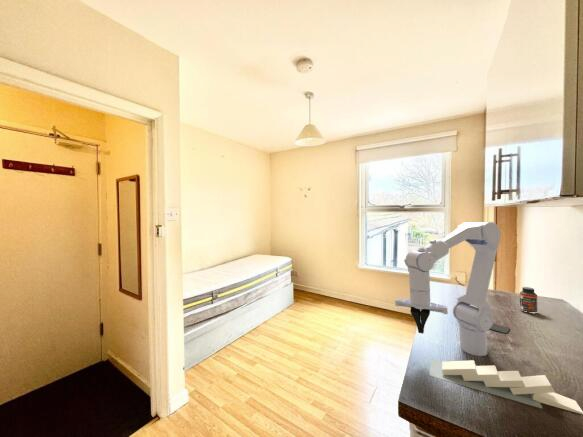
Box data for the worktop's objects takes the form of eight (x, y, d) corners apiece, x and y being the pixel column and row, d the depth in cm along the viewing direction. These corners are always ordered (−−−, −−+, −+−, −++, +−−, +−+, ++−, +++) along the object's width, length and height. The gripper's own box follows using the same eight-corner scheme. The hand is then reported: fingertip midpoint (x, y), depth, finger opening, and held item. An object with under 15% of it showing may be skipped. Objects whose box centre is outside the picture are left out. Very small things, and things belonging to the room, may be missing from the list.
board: (431, 363, 74) (431, 359, 74) (531, 390, 61) (531, 385, 61) (429, 379, 66) (429, 375, 66) (543, 413, 54) (542, 408, 54)
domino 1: (461, 366, 68) (494, 365, 64) (463, 371, 68) (497, 371, 63) (461, 374, 64) (497, 374, 60) (464, 380, 64) (500, 380, 60)
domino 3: (506, 378, 62) (544, 374, 58) (509, 384, 62) (548, 381, 58) (509, 388, 59) (551, 385, 55) (513, 394, 58) (555, 392, 54)
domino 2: (481, 371, 65) (518, 370, 61) (483, 377, 65) (520, 376, 61) (483, 380, 62) (522, 380, 57) (486, 386, 61) (525, 387, 57)
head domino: (442, 361, 70) (473, 360, 66) (444, 366, 70) (476, 365, 66) (442, 369, 67) (475, 368, 62) (444, 375, 66) (478, 374, 62)
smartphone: (507, 333, 91) (461, 320, 102) (507, 336, 91) (461, 323, 102) (511, 328, 95) (466, 316, 107) (511, 330, 95) (466, 318, 107)
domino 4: (528, 382, 60) (575, 400, 56) (527, 388, 60) (573, 406, 56) (534, 393, 56) (584, 413, 52) (532, 399, 56) (582, 419, 52)
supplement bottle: (521, 312, 111) (520, 288, 111) (518, 308, 116) (517, 285, 116) (539, 315, 107) (538, 290, 108) (535, 311, 112) (534, 287, 113)
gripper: (392, 289, 76) (394, 331, 76) (446, 296, 68) (448, 343, 68) (396, 284, 82) (398, 323, 82) (446, 289, 74) (448, 333, 73)
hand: (421, 331), depth 75 cm, fingers closed
